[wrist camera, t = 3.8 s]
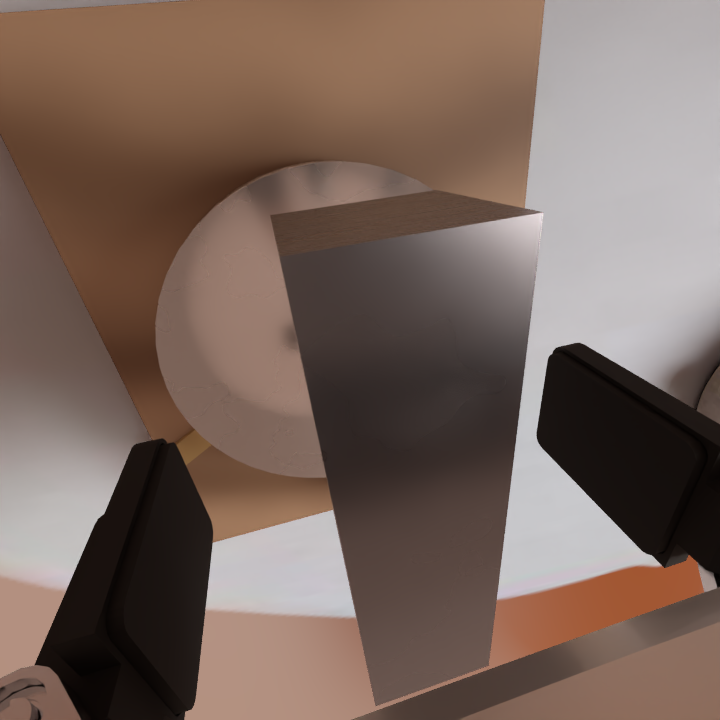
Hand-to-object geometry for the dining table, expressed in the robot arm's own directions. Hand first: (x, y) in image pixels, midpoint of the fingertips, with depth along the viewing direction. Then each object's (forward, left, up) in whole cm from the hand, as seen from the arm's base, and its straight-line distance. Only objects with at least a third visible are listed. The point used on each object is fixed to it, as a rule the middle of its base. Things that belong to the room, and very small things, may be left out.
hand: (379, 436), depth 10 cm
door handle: (+1, 0, -6) cm, 6 cm away
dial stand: (0, 0, -9) cm, 9 cm away
